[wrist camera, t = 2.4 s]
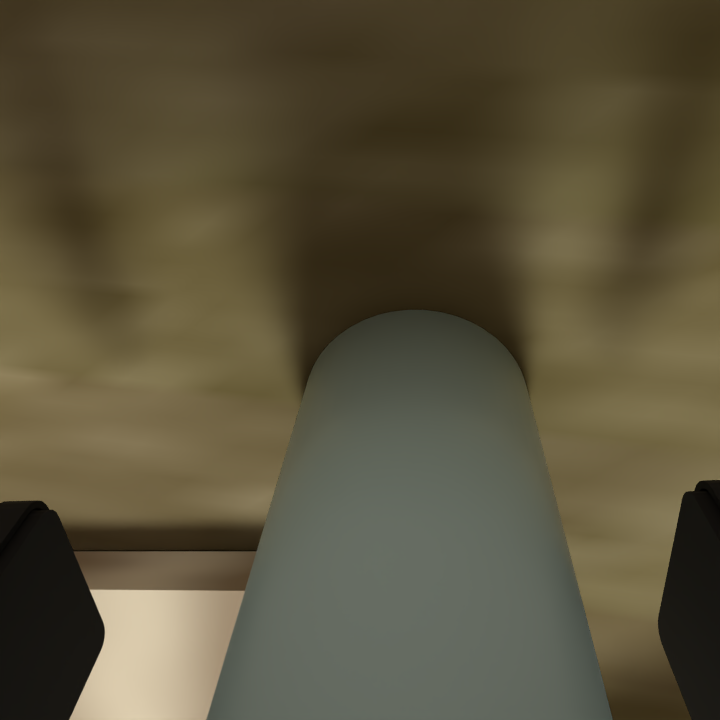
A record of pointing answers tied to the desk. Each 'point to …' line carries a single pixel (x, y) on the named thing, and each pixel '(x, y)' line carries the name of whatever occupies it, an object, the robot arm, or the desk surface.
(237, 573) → the birch board
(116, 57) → the desk surface
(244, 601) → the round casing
